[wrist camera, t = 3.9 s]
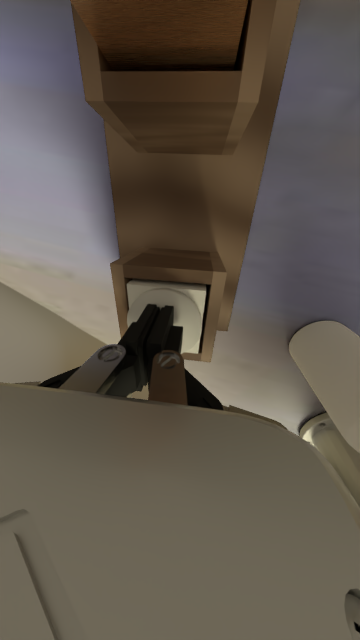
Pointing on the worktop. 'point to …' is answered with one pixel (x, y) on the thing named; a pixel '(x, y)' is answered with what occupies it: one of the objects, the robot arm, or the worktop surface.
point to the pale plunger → (171, 293)
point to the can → (332, 372)
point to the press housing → (189, 160)
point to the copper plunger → (165, 33)
